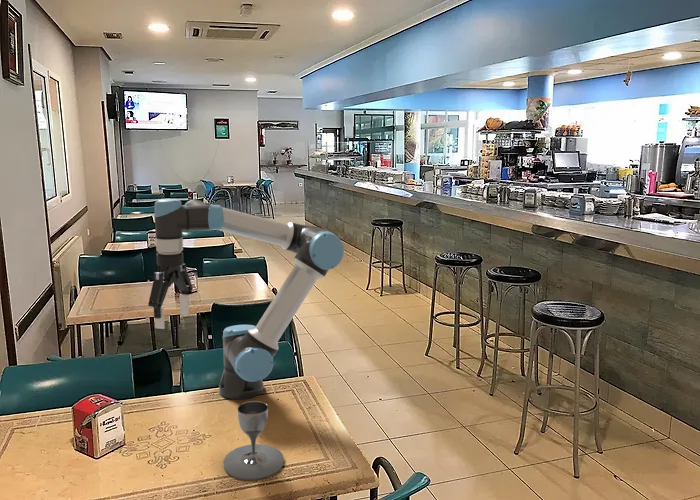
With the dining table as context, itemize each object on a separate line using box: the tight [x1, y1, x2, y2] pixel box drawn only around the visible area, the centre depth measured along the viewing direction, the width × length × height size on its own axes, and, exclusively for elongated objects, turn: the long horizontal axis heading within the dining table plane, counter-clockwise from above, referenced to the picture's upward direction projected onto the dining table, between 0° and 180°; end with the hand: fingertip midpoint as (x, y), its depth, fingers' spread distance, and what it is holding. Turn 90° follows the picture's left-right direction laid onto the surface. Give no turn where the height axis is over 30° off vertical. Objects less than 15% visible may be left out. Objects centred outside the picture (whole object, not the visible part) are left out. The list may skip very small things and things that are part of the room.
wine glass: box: [237, 400, 269, 466], centre depth 155 cm, size 8×8×15 cm
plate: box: [223, 443, 285, 481], centre depth 156 cm, size 16×16×1 cm
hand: (172, 321), depth 174 cm, fingers open, 13 cm apart
